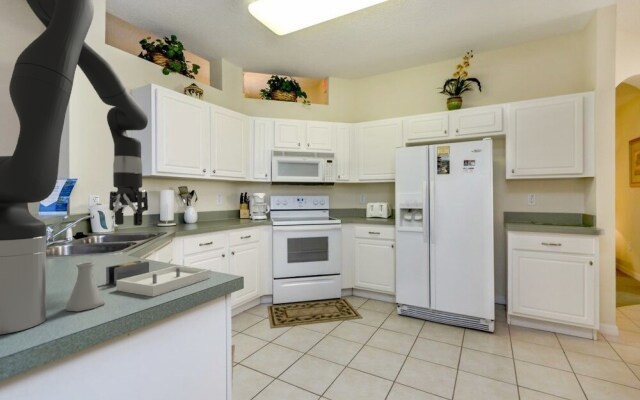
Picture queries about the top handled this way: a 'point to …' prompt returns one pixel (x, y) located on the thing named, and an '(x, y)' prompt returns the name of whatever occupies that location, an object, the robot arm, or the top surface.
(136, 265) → the block
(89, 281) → the flask
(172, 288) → the tray
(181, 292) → the top surface
